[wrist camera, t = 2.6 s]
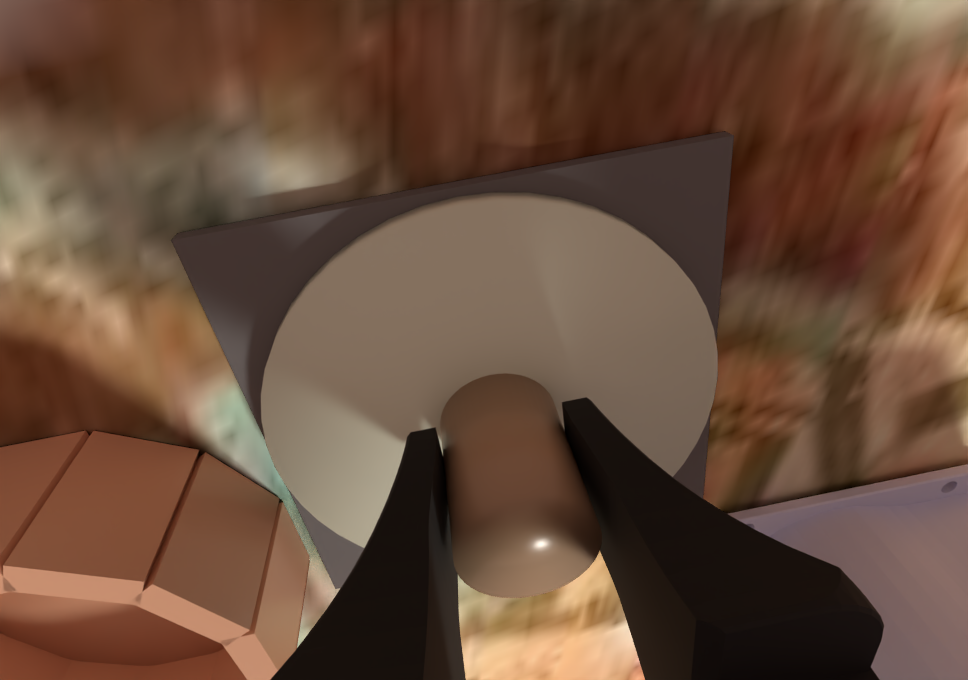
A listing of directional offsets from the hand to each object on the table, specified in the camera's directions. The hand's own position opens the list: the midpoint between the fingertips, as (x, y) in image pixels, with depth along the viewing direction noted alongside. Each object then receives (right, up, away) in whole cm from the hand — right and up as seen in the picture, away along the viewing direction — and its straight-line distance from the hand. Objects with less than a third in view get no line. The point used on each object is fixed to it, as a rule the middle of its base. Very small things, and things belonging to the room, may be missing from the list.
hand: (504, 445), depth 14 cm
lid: (0, +1, +1) cm, 2 cm away
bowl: (-11, -4, +3) cm, 12 cm away
